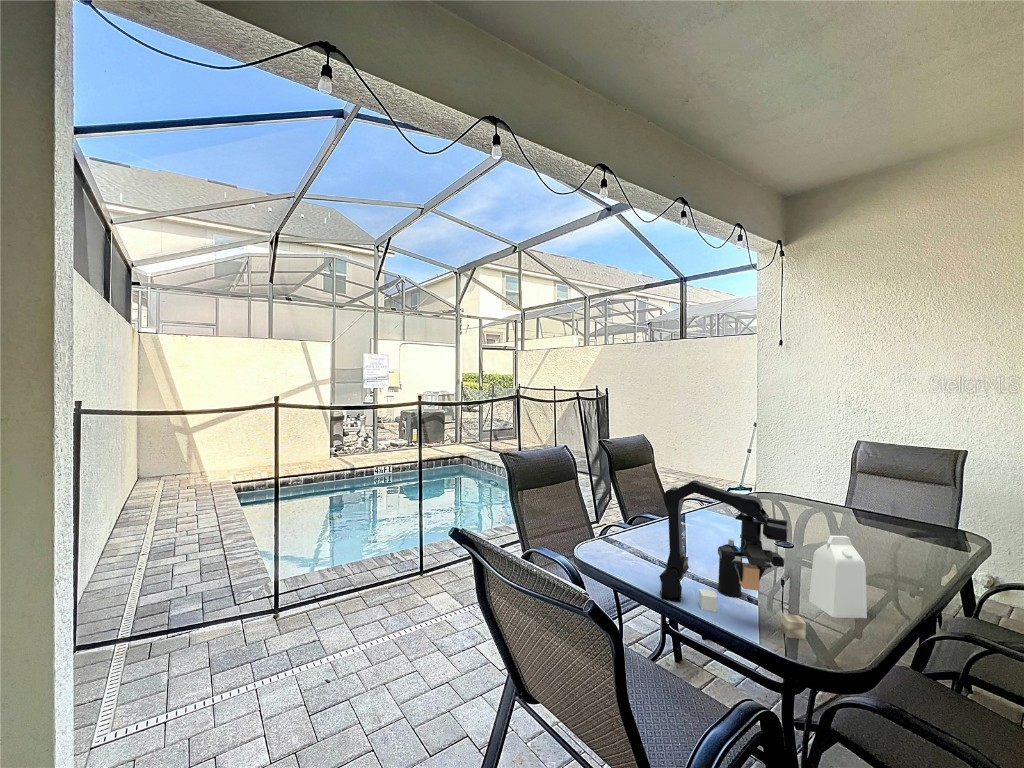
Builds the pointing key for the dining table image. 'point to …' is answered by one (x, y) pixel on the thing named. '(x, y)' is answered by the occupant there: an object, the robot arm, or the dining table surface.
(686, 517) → the dining table surface
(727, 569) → the aerosol can
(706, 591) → the off-white cube
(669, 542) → the robot arm
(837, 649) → the dining table surface
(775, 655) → the dining table surface
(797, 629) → the birch cube
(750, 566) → the brown block
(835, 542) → the milk
